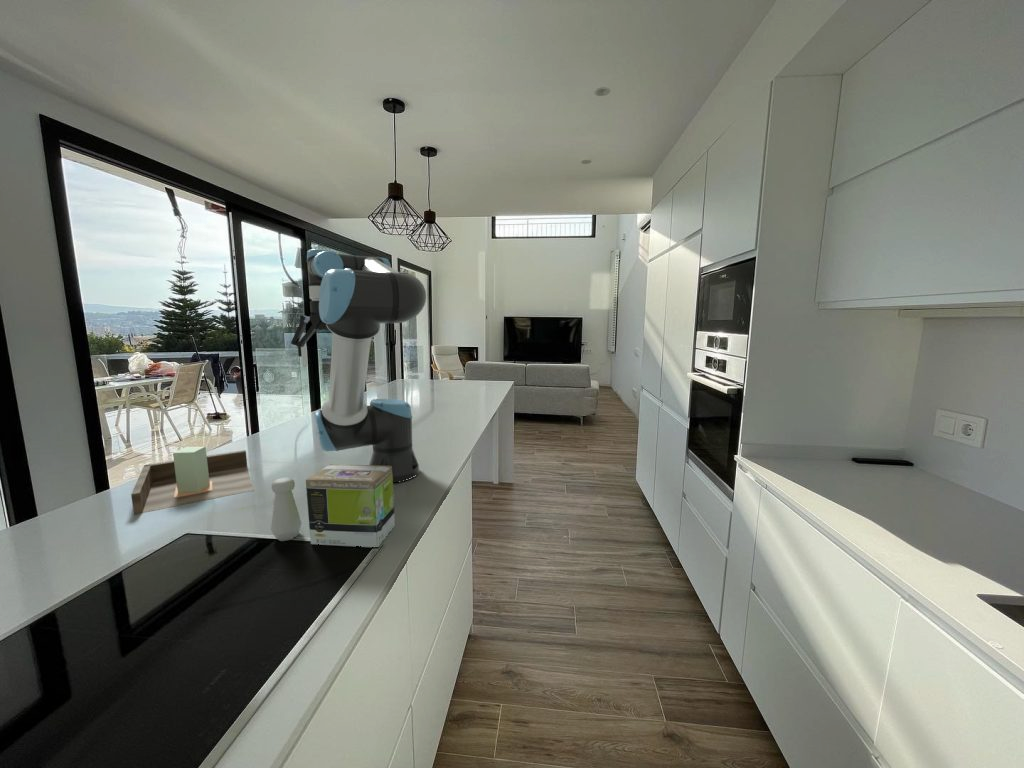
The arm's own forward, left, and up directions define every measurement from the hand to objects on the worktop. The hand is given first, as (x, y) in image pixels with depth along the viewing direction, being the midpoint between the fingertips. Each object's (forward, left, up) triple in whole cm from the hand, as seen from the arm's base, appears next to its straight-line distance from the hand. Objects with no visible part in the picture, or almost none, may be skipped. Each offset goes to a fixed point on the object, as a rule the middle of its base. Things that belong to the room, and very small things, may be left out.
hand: (326, 366), depth 133 cm
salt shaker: (-47, +20, -32) cm, 60 cm away
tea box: (-55, +8, -32) cm, 64 cm away
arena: (-5, +36, -32) cm, 48 cm away
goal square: (-7, +37, -31) cm, 49 cm away
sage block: (-7, +37, -30) cm, 48 cm away
